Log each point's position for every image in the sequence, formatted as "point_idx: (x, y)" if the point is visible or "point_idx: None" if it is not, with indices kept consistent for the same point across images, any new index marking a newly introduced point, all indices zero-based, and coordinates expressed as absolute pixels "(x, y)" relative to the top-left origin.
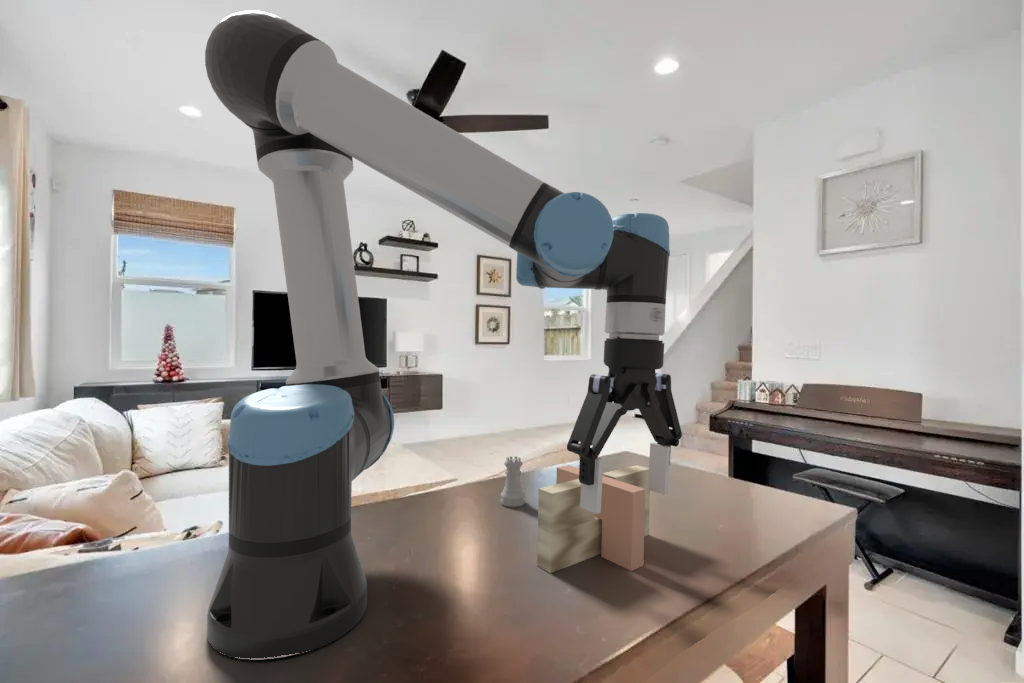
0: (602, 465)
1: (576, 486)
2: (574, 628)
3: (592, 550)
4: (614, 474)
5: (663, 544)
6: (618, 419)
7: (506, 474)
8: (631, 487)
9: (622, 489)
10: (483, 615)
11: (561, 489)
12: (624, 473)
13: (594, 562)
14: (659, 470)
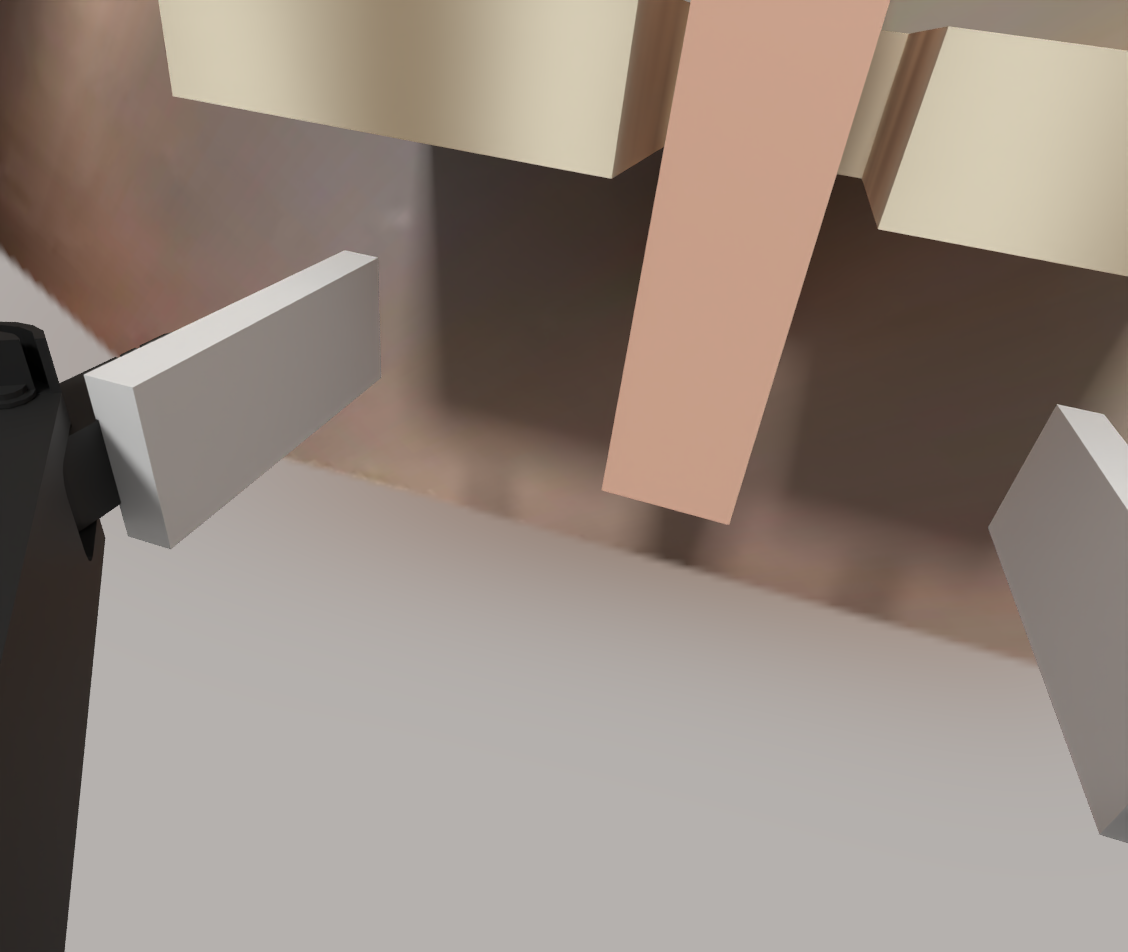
0: (203, 517)
1: (414, 120)
2: None
3: None
4: (989, 163)
5: (1084, 326)
6: (60, 905)
7: None
8: (698, 444)
9: (617, 412)
10: (106, 108)
11: (276, 81)
12: (1100, 224)
13: (648, 162)
14: (1060, 591)
